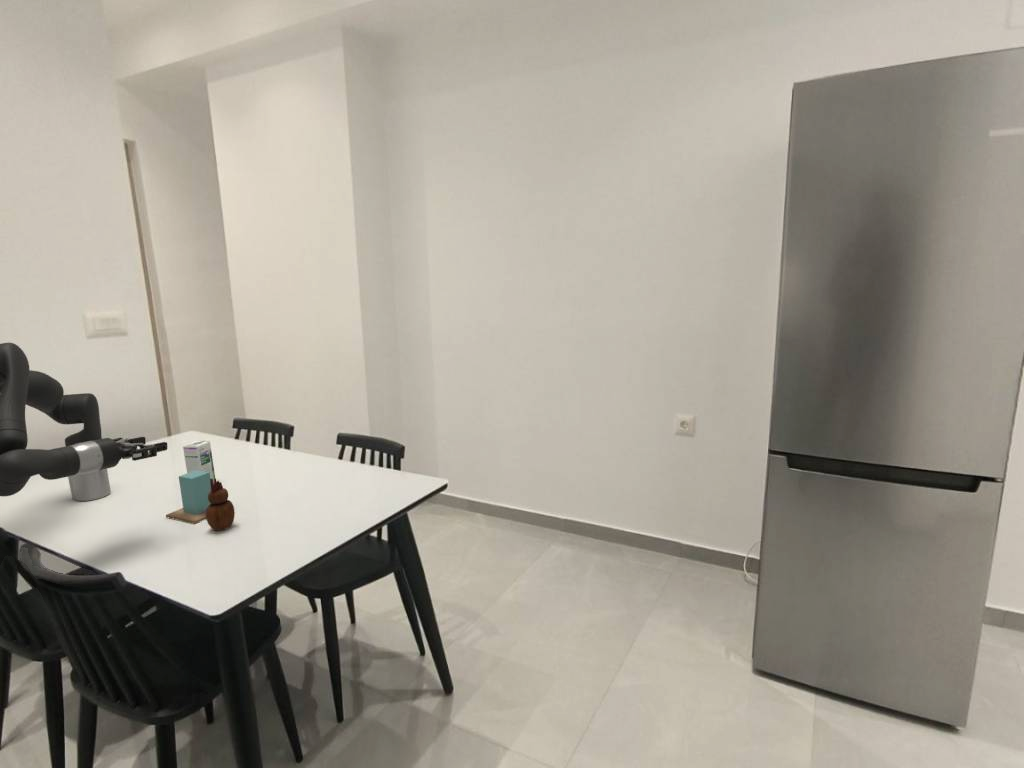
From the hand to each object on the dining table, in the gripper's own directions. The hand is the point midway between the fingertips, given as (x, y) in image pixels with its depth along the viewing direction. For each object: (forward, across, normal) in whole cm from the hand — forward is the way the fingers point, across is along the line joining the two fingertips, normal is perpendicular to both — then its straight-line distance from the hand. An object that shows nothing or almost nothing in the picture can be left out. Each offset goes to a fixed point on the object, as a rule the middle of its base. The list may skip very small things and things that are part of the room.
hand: (155, 443), depth 151 cm
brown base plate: (+12, -2, +23) cm, 26 cm away
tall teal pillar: (+12, -2, +22) cm, 25 cm away
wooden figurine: (+6, -18, +22) cm, 29 cm away
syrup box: (+28, +17, +23) cm, 40 cm away
